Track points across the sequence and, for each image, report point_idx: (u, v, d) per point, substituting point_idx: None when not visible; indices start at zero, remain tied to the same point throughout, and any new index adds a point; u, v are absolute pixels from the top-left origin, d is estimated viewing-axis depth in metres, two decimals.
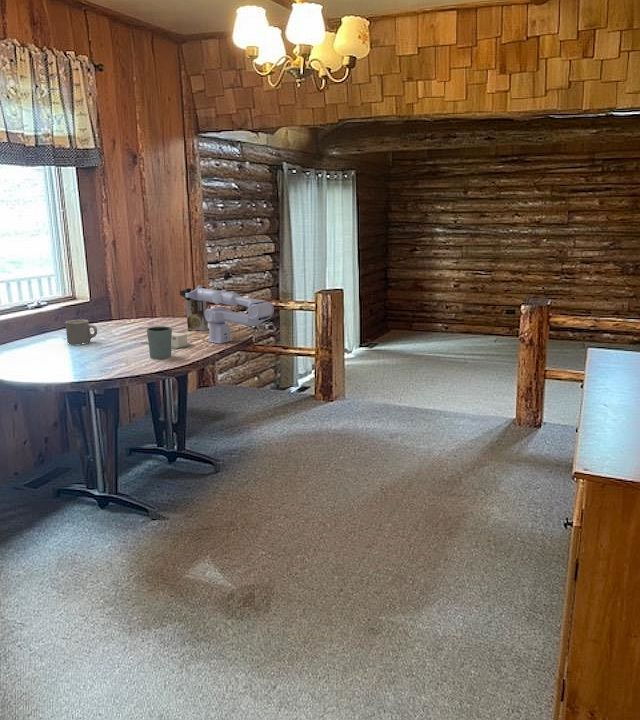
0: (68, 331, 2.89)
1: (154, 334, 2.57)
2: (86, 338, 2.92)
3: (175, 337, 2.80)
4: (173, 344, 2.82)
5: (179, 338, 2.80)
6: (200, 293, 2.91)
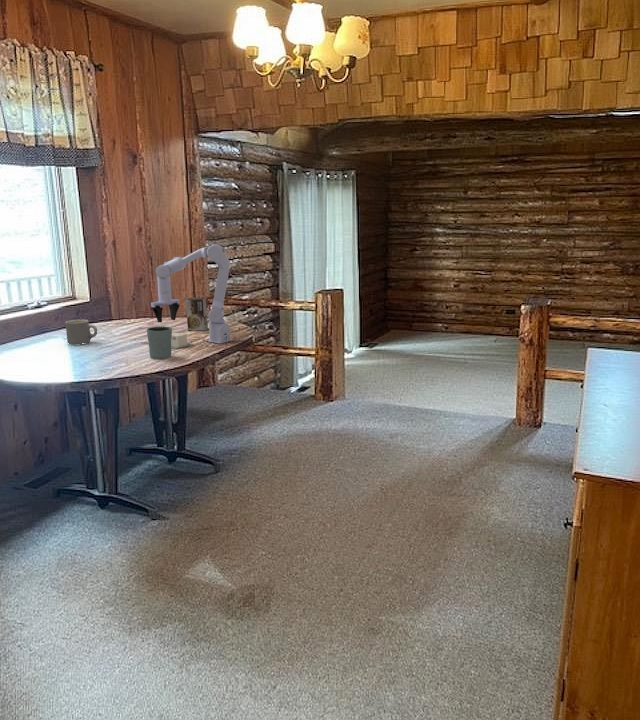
0: (68, 331, 2.89)
1: (154, 334, 2.57)
2: (86, 338, 2.92)
3: (175, 337, 2.80)
4: (173, 344, 2.82)
5: (179, 338, 2.80)
6: (158, 294, 2.87)
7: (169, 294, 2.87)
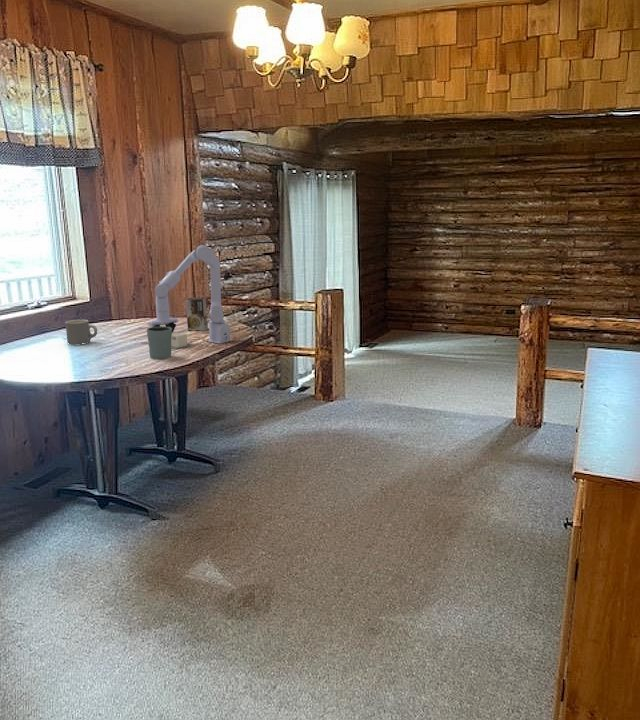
0: (68, 331, 2.89)
1: (154, 334, 2.57)
2: (86, 338, 2.92)
3: (175, 337, 2.80)
4: (173, 344, 2.82)
5: (179, 338, 2.80)
6: None
7: (167, 313, 2.85)
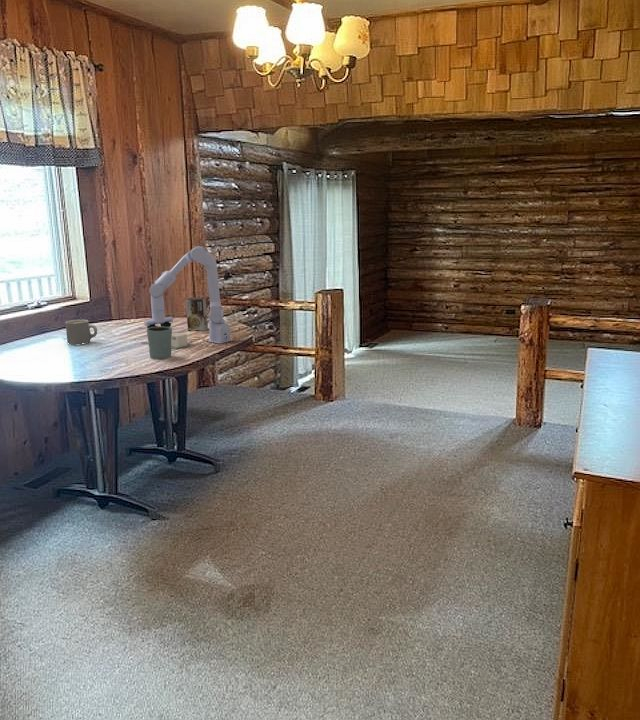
0: (68, 331, 2.89)
1: (154, 334, 2.57)
2: (86, 338, 2.92)
3: (175, 337, 2.80)
4: (173, 344, 2.82)
5: (179, 338, 2.80)
6: (152, 312, 2.87)
7: (162, 313, 2.87)
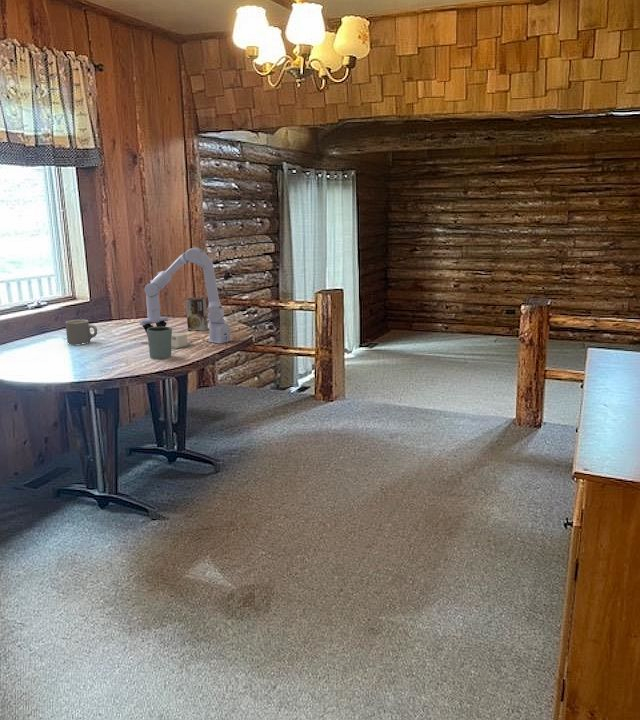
0: (68, 331, 2.89)
1: (154, 334, 2.57)
2: (86, 338, 2.92)
3: (175, 337, 2.80)
4: (173, 344, 2.82)
5: (179, 338, 2.80)
6: (147, 312, 2.89)
7: (158, 312, 2.89)
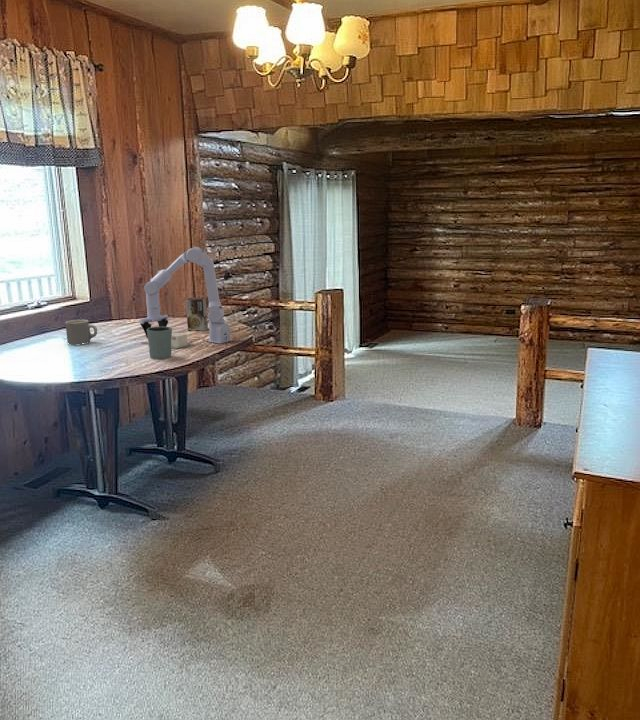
0: (68, 331, 2.89)
1: (154, 334, 2.57)
2: (86, 338, 2.92)
3: (175, 337, 2.80)
4: (173, 344, 2.82)
5: (179, 338, 2.80)
6: (147, 310, 2.89)
7: (158, 310, 2.89)
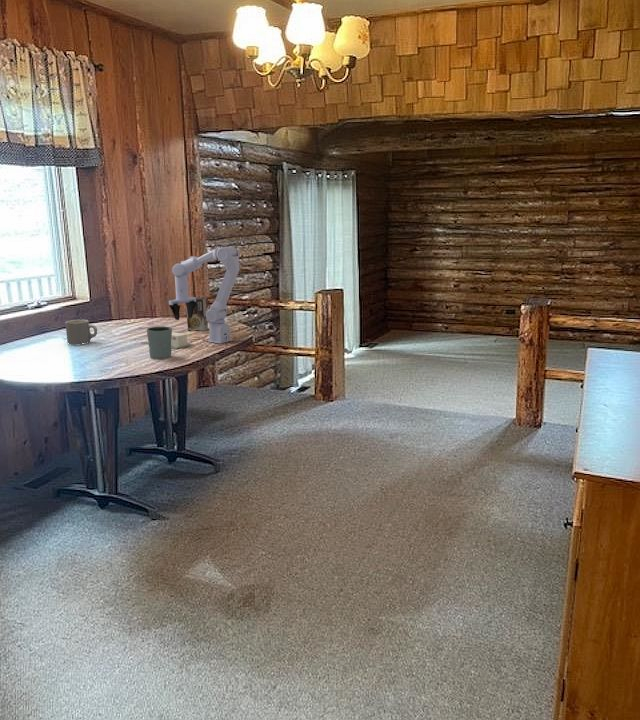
0: (68, 331, 2.89)
1: (154, 334, 2.57)
2: (86, 338, 2.92)
3: (175, 337, 2.80)
4: (173, 344, 2.82)
5: (179, 338, 2.80)
6: (176, 292, 2.93)
7: (186, 292, 2.93)
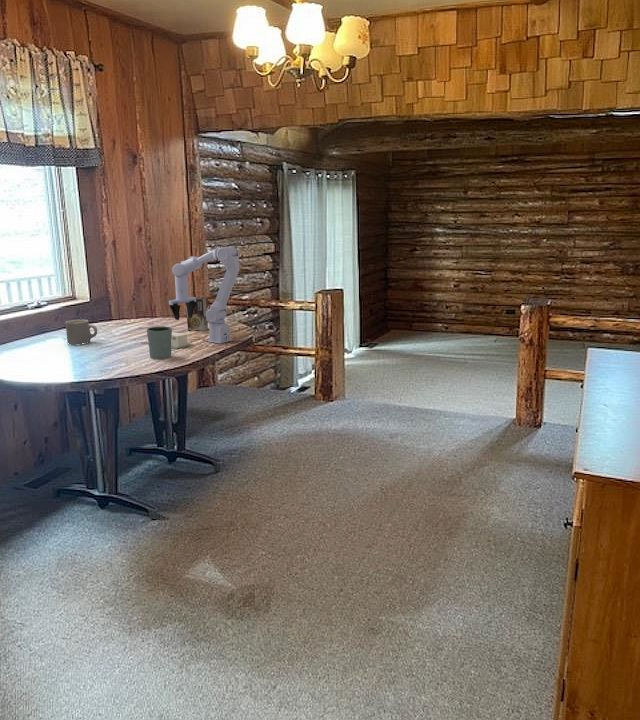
0: (68, 331, 2.89)
1: (154, 334, 2.57)
2: (86, 338, 2.92)
3: (175, 337, 2.80)
4: (173, 344, 2.82)
5: (179, 338, 2.80)
6: (176, 292, 2.93)
7: (186, 292, 2.93)
